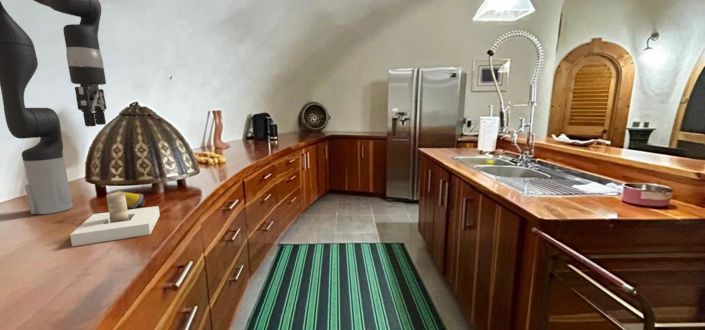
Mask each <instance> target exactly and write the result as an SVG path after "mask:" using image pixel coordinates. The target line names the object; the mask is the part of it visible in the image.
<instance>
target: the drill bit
mask: <svg viewBox="0 0 705 330" xmlns="http://www.w3.org/2000/svg"><path fill="white" fill-rule="evenodd" d="M115 192H122V191H120V190H116V191H115ZM125 197H126V203H127V208H129V209H130V210H131V209H137V207H143V206H144V205H145V203H146V200H144V194H142V193H139V192H138V193H133V192H125ZM144 207H145V206H144Z"/></svg>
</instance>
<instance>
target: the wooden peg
mask: <svg viewBox="0 0 705 330" xmlns="http://www.w3.org/2000/svg"><path fill="white" fill-rule="evenodd" d="M125 193H126V192H125V191H121V192H116V191H115V192H111V193H108V194H106V202H107V208H108V212H109V214H110V220H111V223H115V222H123V221H129V216H128V210H129V209H128V204H127V203H126V197H125Z"/></svg>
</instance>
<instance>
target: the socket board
mask: <svg viewBox="0 0 705 330" xmlns="http://www.w3.org/2000/svg"><path fill="white" fill-rule="evenodd" d="M128 216H129V221H123V222H115V223H111V220H110V214H109V211H107V212H100V213H93V214H92V215H90V217H89V218H87V219H86V220H85V221H84V222H83V223H82V224H81V225H80V226H78V227H77V228H76V229H75V230H73V232H71V233H70V234H69V237H70V241H71V246H72V247H79V246H85V245H92V244H97V243H102V242H111V241H117V240H123V239H130V238H135V237H142V236H143V237H144V236H149V235H151V234H152V232H153V229H154V228H155V226H156V225H157V222H158V220H159V218H160V217H161V214H160V208H159V205H157V206H148V207H139V208H134V209H131V208H130V209H128Z"/></svg>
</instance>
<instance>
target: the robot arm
mask: <svg viewBox="0 0 705 330" xmlns="http://www.w3.org/2000/svg"><path fill="white" fill-rule="evenodd" d="M33 1H34V2H36V3H38V4H39V5H43V6H45V7H48V8H50V9H52V11H56V12H59V13H61V14H66V15H69V16H74V17H78V18H80V21H79V23H78V24H77V23H76V24H75V23H73V24H66V25H64V26H63V28H62V29H63V32H62V33H63V36H64V42H65V43H64V44H65V47H66V48H65V49H66V61H67V66H68V72H69V77H70V78H69V79H70V83H72V84H74V85H79V86H75V87H74V91H75V98H76V104H77V105H76V106H77V109H78V110H79V111H81V113H82V114H83V116H82V117H83V120H84V126H85V127H96V125H98V126H99V125H100V126H101V125H102V126H103V125H106V123H107V121H106V117H105V112H106V110H107V104H106V103H107V102H106V97H105V93H104V92H105V91H104V89H103V88H99V86H102V85H106V84H107V79H106V73H105V68H104V61H103V57H102V53H101V49H100V42H99V27H100V22H101V21H100V20H101V16H102V5H101V2H100V0H33ZM36 53H37V52H36V49H35V44H34V43H33V41H32V38H31V37H30V36H29V35H28V34H27V32H26V31H25V30H24V29H23V27H21V26H20V25H19V23H17V22H16V21H15V20H14V19H13V17H12V16H11V15H10V14H9V13H8V12H7V10H6V8H5V7H4V6H3V3H2V1H1V0H0V91H1V92H0V93H1V98H2V104H3V111H4V118H5V123H6V125H7V129H8V131H9V132H10V134H11V135H12V136H13V138H16V139H19V140H21V139H33V138H34V139H37V138H39V139H40V140H39V142H38V143H37V144H35V145H34V146H32V147H29V148H27V149H24V150H23V151H22V152H21V158H22V161H23V166H24V171H25V175H26V180H27V184H25V186H24V188H25V193H26V196H27V201H28V205H29V210H30V215H47V214H54V213H55V214H56V213H59V212H64V211H67V210H70V209H72V208H73V207H74V206H73V200H72V195H71V189H70V184H69V179H68V174H67V169H66V163H65V158H64V153H63V150H64V144H63V136H62V135H63V134H62V126H61V121H60V118H59V115H58V114H57V112H56V111H55V110H54V109H52V108H49V107H26V104H25V91H26V88H27V86H28V84H29V83H30V81H31V79H32V78H33V76H34V75H35V73H36V71H37V69H38V65H39V64H38V63H39V61H38V58H37V54H36Z"/></svg>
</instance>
